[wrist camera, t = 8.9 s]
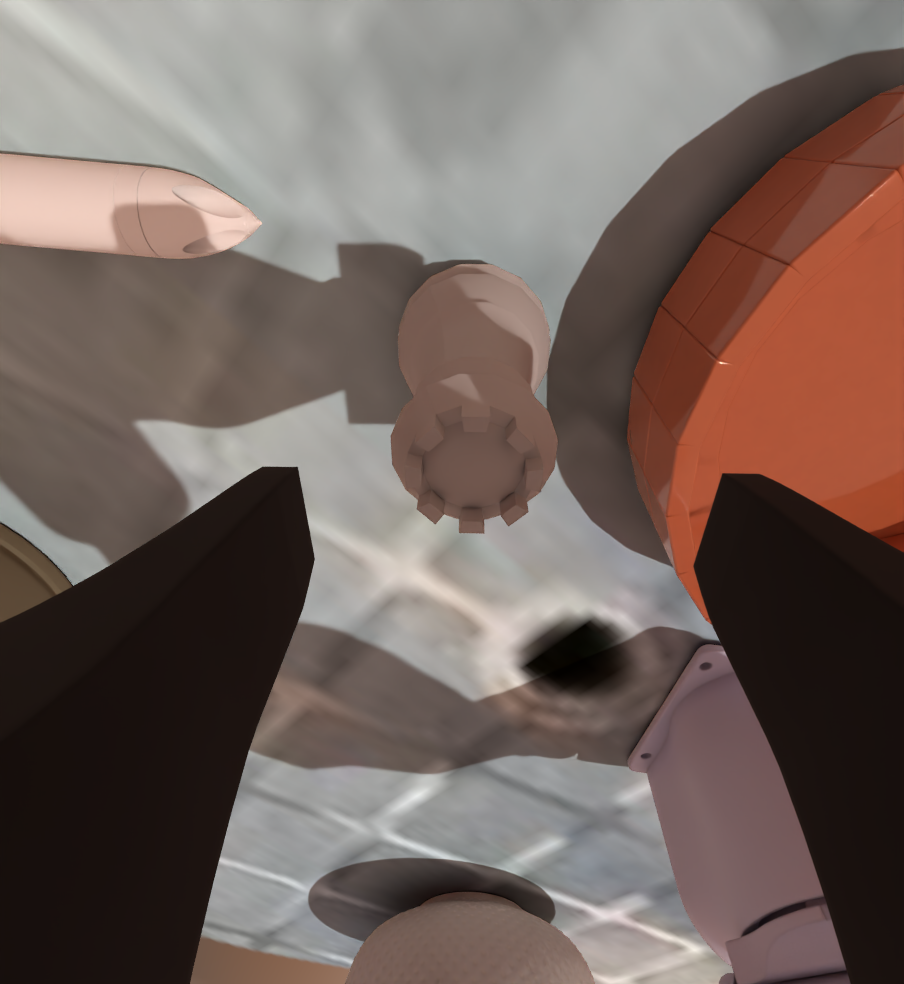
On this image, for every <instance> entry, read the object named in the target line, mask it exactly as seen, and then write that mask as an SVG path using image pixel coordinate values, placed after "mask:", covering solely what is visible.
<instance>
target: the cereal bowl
mask: <svg viewBox="0 0 904 984" xmlns="http://www.w3.org/2000/svg"><path fill="white" fill-rule="evenodd" d="M345 984H595V982H594V979H593V976H592V974H591V971H590V970H589V967H588V965H587V963H586V961H585V960H584V958H583V957H582V954H581V953H580V952H579V950H578V949H577V948H576V946H575V945H574V944H573V943H572V942H571V941H570V939H569V938H568V937H566V936H565V935H564V934H563V932H561V931H559V930H558V929H557V928H556V927H555V926H552V925H551V924H549V923H548V922H546V921H544V920H542V919H541V918H539V917H536V916H534V915H533V914H530V913H527V912H526V911H523V909H522V908H521V907H519V906H518V905H517V904H516V903H514V902H512V901H510V900H508V899H506V898H503V897H500V896H496V895H492V894H487V893H480V892H453V893H447V894H442V895H439V896H436V897H433V898H431V899H429V900H427V901H425V902H424V903H423V904H422V905H421V906H420V907H415V908H414V909H409V910H407V911H406V912H401V913H399V914H398V915H396V916H393V917H392V918H391V919H389V920H387V921H385V922H384V923H383V924H382V925H380V926H378V927H377V929H375V930H374V931H373V932H372V934H371V935H370V936H369V937H368V938H367V939H366V940H365V942H364V943H363V945H362V946H361V947H360V950H359V952H358V953H357V955H356V957H355V958H354V961H353V964H352V966H351V969H350V972H349V974H348V977H347V980H346V983H345Z"/></svg>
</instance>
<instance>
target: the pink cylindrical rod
mask: <svg viewBox="0 0 904 984" xmlns="http://www.w3.org/2000/svg"><path fill="white" fill-rule="evenodd" d="M261 224H262V222H261V221H260V220H259V219H258V218H257V217H256V216H255V215H254V214H253V212H252V211H251V210H250V209H248V208H247V207H246V206H244V205H242V204H241V203H239V202H238V201H236V200H234V199H233V198H231V197H230V196H228V195H227V194H225V193H224V192H222V191H220V190H219V189H217V188H215V187H214V186H212V185H210V184H209V183H207V182H205V181H203V180H201V179H199V178H197V177H194V176H191V175H188V174H185V173H182V172H177V171H173V170H168V169H163V168H155V167H144V166H133V165H127V164H125V165H122V164H111V163H100V162H89V161H78V160H67V159H56V158H46V157H35V156H24V155H13V154H2V153H0V244H10V245H21V246H33V247H44V248H55V249H67V250H78V251H89V252H100V253H112V254H123V255H134V256H141V257H157V258H169V259H187V258H197V257H203V256H208V255H212V254H216V253H219V252H222V251H225V250H227V249H230V248H232V247H234V246H235V245H237V244H239V243H241V242H242V241H244V240H245V239H247V238H248V237H250V236H251V235H252V234H253V233H254V232H255V231H256V230H257V229H258V228H259V227H260V225H261Z"/></svg>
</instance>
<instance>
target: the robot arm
mask: <svg viewBox="0 0 904 984" xmlns="http://www.w3.org/2000/svg"><path fill="white" fill-rule="evenodd" d="M314 560H315V558H314V552H313V547H312V541H311V536H310V531H309V525H308V520H307V515H306V509H305V504H304V498H303V493H302V488H301V482H300V477H299V471H298V467H261V468H260V469H258V470H256V471H254V472H253V473H251V474H249V475H248V476H246V477H245V478H243V479H242V480H240V481H239V482H237V483H236V484H234V485H233V486H231V487H230V488H228V489H227V490H225V491H224V492H222V493H221V494H219V495H218V496H217V497H215V498H214V499H212V500H211V501H209V502H208V503H206V504H205V505H203V506H202V507H200V508H199V509H198V510H196V511H195V512H193V513H192V514H190V515H189V516H187V517H186V518H184V519H183V520H181V521H180V522H178V523H177V524H175V525H174V526H172V527H171V528H169V529H168V530H166V531H165V532H163V533H161V534H160V535H158V536H157V537H155V538H153V539H152V540H150V541H149V542H147V543H145V544H144V545H142V546H141V547H139V548H137V549H136V550H134V551H132V552H131V553H129V554H128V555H126V556H124V557H123V558H121V559H120V560H118V561H116V562H115V563H113V564H112V565H110V566H108V567H106V568H105V569H103V570H101V571H100V572H98V573H96V574H94V575H92V576H91V577H89V578H87V579H85V580H83V581H82V582H80V583H78V584H76V585H74V586H73V587H71V588H69V589H67V590H65V591H63V592H61V593H59V594H57V595H55V596H53V597H51V598H49V599H48V600H46V601H44V602H42V603H40V604H38V605H36V606H34V607H32V608H30V609H28V610H26V611H24V612H22V613H20V614H18V615H16V616H14V617H11V618H9V619H7V620H5V621H3V622H0V984H190V980H191V975H192V971H193V966H194V962H195V958H196V953H197V949H198V945H199V941H200V937H201V932H202V928H203V924H204V920H205V915H206V911H207V907H208V903H209V898H210V894H211V890H212V886H213V881H214V878H215V874H216V870H217V866H218V862H219V858H220V854H221V850H222V847H223V843H224V839H225V835H226V831H227V827H228V823H229V820H230V816H231V812H232V808H233V805H234V801H235V798H236V794H237V791H238V787H239V783H240V780H241V776H242V773H243V769H244V766H245V762H246V758H247V755H248V752H249V749H250V746H251V743H252V740H253V737H254V734H255V731H256V728H257V725H258V723H259V720H260V717H261V715H262V712H263V710H264V707H265V705H266V702H267V700H268V697H269V695H270V692H271V690H272V687H273V684H274V682H275V679H276V677H277V674H278V672H279V669H280V667H281V664H282V662H283V659H284V657H285V654H286V651H287V649H288V646H289V644H290V641H291V639H292V636H293V633H294V631H295V628H296V626H297V623H298V620H299V618H300V615H301V612H302V610H303V606H304V602H305V598H306V594H307V590H308V587H309V582H310V578H311V573H312V569H313V564H314ZM693 567H694V571H695V574H696V578H697V581H698V585H699V588H700V592H701V595H702V598H703V601H704V604H705V607H706V610H707V613H708V616H709V619H710V621H711V623H712V625H713V628H714V630H715V632H716V634H717V636H718V638H719V640H720V642H721V645H722V646H719V645H711V644H707V645H703V646H702V647H700V648H699V649H698V650H697V651H696V652H695V654H694V656H693V657H692V659H691V660H690V662H689V664H688V665H687V667H686V668H685V670H684V671H683V673H682V675H681V676H680V678H679V679H678V681H677V682H676V684H675V686H674V687H673V689H672V690H671V692H670V694H669V695H668V697H667V698H666V700H665V701H664V703H663V705H662V706H661V708H660V709H659V711H658V712H657V714H656V716H655V717H654V719H653V720H652V722H651V724H650V725H649V727H648V728H647V730H646V731H645V733H644V735H643V736H642V738H641V739H640V741H639V742H638V744H637V746H636V747H635V749H634V750H633V752H632V753H631V755H630V757H629V758H628V761H627V762H628V766H629V768H630V769H631V770H632V771H636V772H643V773H647V776H648V780H649V783H650V787H651V791H652V794H653V798H654V802H655V806H656V809H657V813H658V817H659V821H660V824H661V828H662V832H663V835H664V839H665V843H666V847H667V850H668V854H669V858H670V862H671V865H672V869H673V873H674V876H675V880H676V884H677V888H678V891H679V894H680V897H681V900H682V903H683V905H684V907H685V910H686V912H687V914H688V916H689V918H690V919H691V921H692V923H693V924H694V926H695V928H696V929H697V931H698V932H699V933H700V935H701V936H702V938H703V939H704V940H705V941H706V943H707V944H708V945H709V946H710V948H711V949H712V950H713V951H714V952H715V953H716V954H717V955H718V956H719V957H720V958H721V959H723V960H724V961H725V962H726V963H728V964H729V965H730V966H732V968H733V972H734V973H727V974H725V975H724V976H722V977H721V979H720V981H719V984H904V552H902V551H900V550H898V549H897V548H895V547H893V546H891V545H889V544H888V543H886V542H884V541H882V540H880V539H879V538H877V537H875V536H873V535H871V534H870V533H868V532H866V531H864V530H863V529H861V528H859V527H857V526H856V525H854V524H852V523H850V522H849V521H847V520H845V519H843V518H842V517H840V516H838V515H836V514H835V513H833V512H831V511H829V510H828V509H826V508H824V507H822V506H821V505H819V504H817V503H815V502H814V501H812V500H810V499H808V498H807V497H805V496H803V495H801V494H799V493H797V492H796V491H794V490H792V489H790V488H788V487H786V486H784V485H783V484H781V483H779V482H777V481H775V480H773V479H770V478H768V477H766V476H764V475H761V474H746V473H722V476H721V479H720V482H719V485H718V489H717V492H716V495H715V498H714V501H713V504H712V508H711V511H710V514H709V517H708V520H707V524H706V527H705V530H704V533H703V536H702V539H701V543H700V546H699V549H698V552H697V555H696V559H695V562H694V565H693Z"/></svg>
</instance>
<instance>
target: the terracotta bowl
mask: <svg viewBox="0 0 904 984" xmlns="http://www.w3.org/2000/svg"><path fill="white" fill-rule="evenodd" d="M710 231H711V232H709V233H708V234H707V235H706V236H705V238H704V239H703V241H702V242H701V244H700V245H699V247H698V248H697V250H696V251H695V253H694V254H693V256H692V257H691V259H690V260H689V262H688V263H687V265H686V266H685V268H684V269H683V271H682V272H681V274H680V275H679V277H678V278H677V280H676V281H675V283H674V284H673V286H672V287H671V289H670V290H669V292H668V293H667V295H666V296H665V298H664V299H663V301H662V303H661V305H662V306H660V307H659V308H658V310H657V313H656V316H655V318H654V321H653V324H652V326H651V329H650V332H649V334H648V337H647V340H646V342H645V345H644V348H643V350H642V353H641V356H640V358H639V361H638V363H637V366H636V369H635V371H634V376H633V379H632V389H631V399H630V410H629V420H628V430H627V437H628V438H627V442H628V447H629V451H630V456H631V460H632V465H633V470H634V474H635V479H636V483H637V488H638V490H639V493H640V495H641V497H642V500H643V502H644V504H645V506H646V508H647V511H648V513H649V515H650V517H651V519H652V522H653V524H654V526H655V528H656V530H657V532H658V535H659V537H660V539H661V541H662V543H663V546H664V548H665V550H666V552H667V554H668V557H669V559H670V561H671V563H672V565H673V568H674V570H675V572H676V574H677V576H678V578H679V579H680V581H681V582H682V584H683V586H684V587H685V589H686V590H687V592H688V593H689V595H690V597H691V598H692V600H693V601H694V603H695V604H696V606H697V608H698V609H699V611H700V612H701V614H702V616H703V617H704V618H705V619H706V621H708V622H709V623H710V624H712V623H711V621H710V619H709V616H708V613H707V610H706V607H705V604H704V601H703V598H702V595H701V592H700V588H699V585H698V581H697V578H696V574H695V571H694V567H693V565H694V562H695V559H696V555H697V552H698V549H699V546H700V543H701V539H702V536H703V533H704V530H705V527H706V524H707V520H708V517H709V514H710V511H711V508H712V504H713V501H714V498H715V495H716V492H717V489H718V485H719V482H720V479H721V476H722V473H746V474H761V475H764V476H766V477H768V478H770V479H773V480H775V481H777V482H779V483H781V484H783V485H784V486H786V487H788V488H790V489H792V490H794V491H796V492H797V493H799V494H801V495H803V496H805V497H807V498H808V499H810V500H812V501H814V502H815V503H817V504H819V505H821V506H822V507H824V508H826V509H828V510H829V511H831V512H833V513H835V514H836V515H838V516H840V517H842V518H843V519H845V520H847V521H849V522H850V523H852V524H854V525H856V526H857V527H859V528H861V529H863V530H864V531H866V532H868V533H870V534H871V535H873V536H875V537H877V538H879V539H880V540H882V541H884V542H886V543H888V544H889V545H891V546H893V547H895V548H897V549H898V550H900V551H902V552H904V84H903V85H900V86H898V87H895V88H893V89H890V90H887V91H885V92H882V93H880V94H879V95H878V96H874V97H873V98H871V99H870V100H868V101H867V102H865V103H864V104H862V105H861V106H859V107H858V108H856V109H855V110H853V111H851V112H850V113H848V114H847V115H845V116H844V117H842V118H841V119H839V120H838V121H836V122H835V123H833V124H832V125H830V126H829V127H827V128H826V129H824V130H823V131H821V132H820V133H818V134H817V135H815V136H814V137H812V138H810V139H809V140H807V141H806V142H804V143H803V144H801V145H800V146H798V147H797V148H795V149H794V150H792V151H791V152H789V153H788V154H786V155H785V156H784V158H781V159H780V160H779V161H778V162H777V163H776V164H775V165H774V166H773V167H772V168H771V169H770V170H769V171H768V172H767V173H766V174H765V175H764V176H763V177H762V178H761V179H760V180H759V181H758V182H757V183H756V184H755V185H754V186H753V187H752V188H751V189H750V190H749V191H748V192H747V193H746V194H745V195H744V196H743V197H742V198H741V199H740V200H739V201H738V202H737V203H736V204H735V205H734V206H733V207H732V208H731V209H730V210H729V211H728V212H727V213H726V214H725V215H724V216H723V217H722V218H721V219H720V220H719V221H718V222H717V223H715V224H714V225H713V226H712V227H711V229H710Z"/></svg>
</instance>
